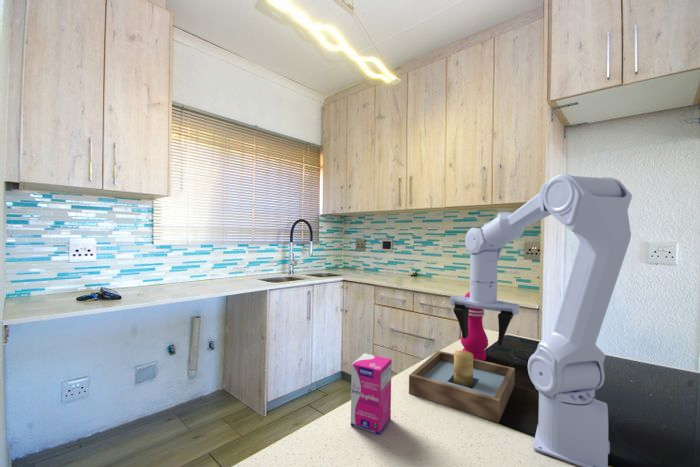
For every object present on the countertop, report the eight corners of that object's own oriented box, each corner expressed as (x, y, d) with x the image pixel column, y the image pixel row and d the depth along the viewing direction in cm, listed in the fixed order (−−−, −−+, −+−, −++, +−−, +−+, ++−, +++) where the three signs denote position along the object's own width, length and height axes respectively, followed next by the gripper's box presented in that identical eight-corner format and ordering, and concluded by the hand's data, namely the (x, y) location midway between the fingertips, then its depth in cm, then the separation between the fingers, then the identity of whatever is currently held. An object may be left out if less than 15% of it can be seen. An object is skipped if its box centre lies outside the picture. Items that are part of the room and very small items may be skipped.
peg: (474, 388, 72) (475, 353, 72) (469, 395, 69) (470, 358, 69) (456, 383, 75) (457, 349, 75) (451, 390, 72) (451, 354, 71)
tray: (514, 385, 74) (514, 368, 74) (498, 422, 60) (499, 401, 59) (438, 365, 85) (438, 350, 85) (408, 393, 70) (409, 375, 70)
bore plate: (508, 385, 74) (509, 377, 74) (494, 418, 61) (494, 407, 61) (440, 368, 83) (440, 360, 83) (415, 392, 70) (415, 383, 70)
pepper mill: (491, 363, 87) (492, 289, 87) (463, 361, 88) (464, 287, 88) (484, 353, 94) (485, 284, 94) (458, 351, 95) (459, 283, 95)
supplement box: (349, 426, 58) (350, 362, 58) (363, 410, 63) (364, 352, 63) (379, 436, 55) (380, 369, 55) (391, 419, 60) (392, 357, 60)
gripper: (521, 282, 73) (520, 342, 73) (456, 276, 81) (455, 330, 81) (516, 286, 67) (515, 352, 67) (447, 279, 75) (446, 337, 75)
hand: (482, 340), depth 74 cm, fingers open, 7 cm apart
